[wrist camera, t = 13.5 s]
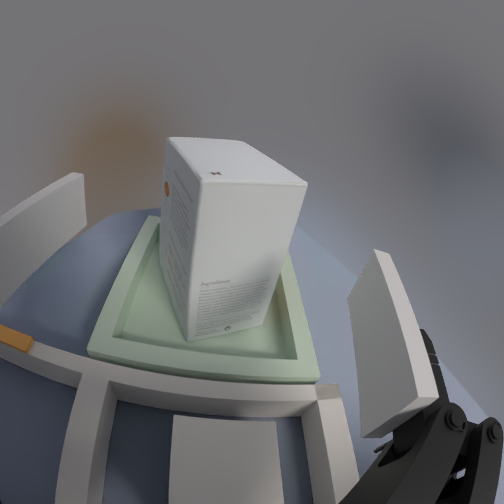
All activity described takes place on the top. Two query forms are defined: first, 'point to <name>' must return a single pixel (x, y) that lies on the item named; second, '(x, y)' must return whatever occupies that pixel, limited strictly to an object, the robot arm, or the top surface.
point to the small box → (224, 232)
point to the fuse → (224, 462)
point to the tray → (204, 350)
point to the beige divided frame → (185, 400)
